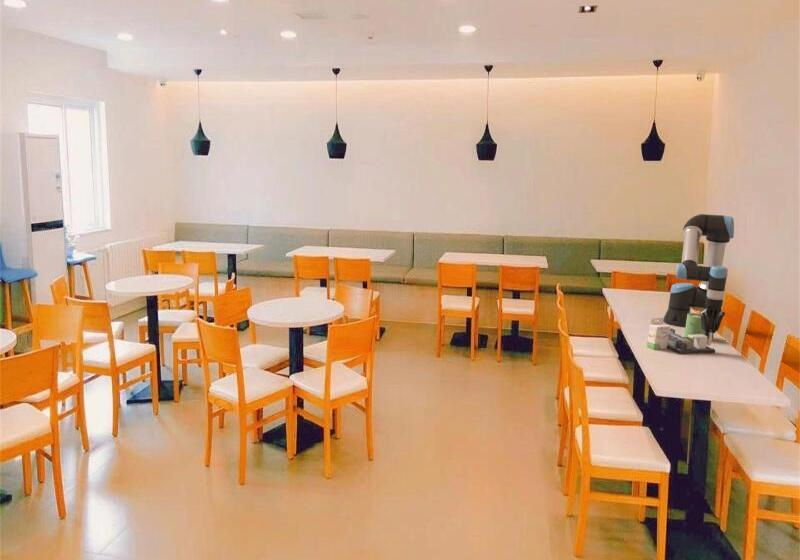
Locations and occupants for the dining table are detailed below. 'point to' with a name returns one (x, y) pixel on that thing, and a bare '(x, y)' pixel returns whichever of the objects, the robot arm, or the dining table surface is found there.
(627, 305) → the dining table surface
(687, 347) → the base tray
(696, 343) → the lug slider
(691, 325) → the mug
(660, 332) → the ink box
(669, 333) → the strap
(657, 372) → the dining table surface
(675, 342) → the heat sink
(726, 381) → the dining table surface
